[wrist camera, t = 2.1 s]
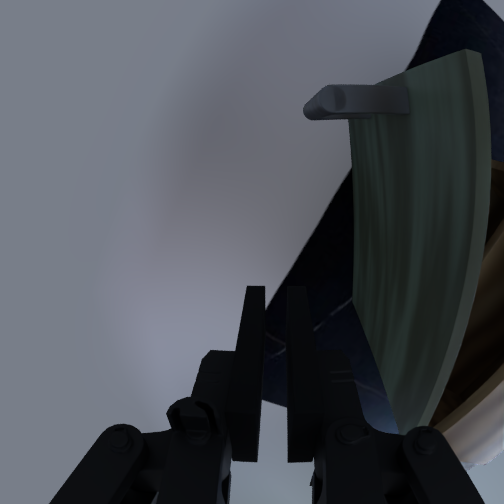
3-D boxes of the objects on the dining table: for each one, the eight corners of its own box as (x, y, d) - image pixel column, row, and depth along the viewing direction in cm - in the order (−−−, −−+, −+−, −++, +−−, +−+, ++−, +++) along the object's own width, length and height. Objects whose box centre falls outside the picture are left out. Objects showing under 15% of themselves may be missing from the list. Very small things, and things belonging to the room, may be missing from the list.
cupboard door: (310, 305, 41) (333, 464, 18) (295, 99, 31) (338, 31, 9) (359, 300, 40) (415, 448, 18) (354, 97, 30) (481, 53, 8)
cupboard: (359, 302, 40) (415, 452, 18) (471, 154, 31) (614, 201, 8) (428, 350, 43) (484, 465, 20) (524, 231, 34) (624, 302, 11)
